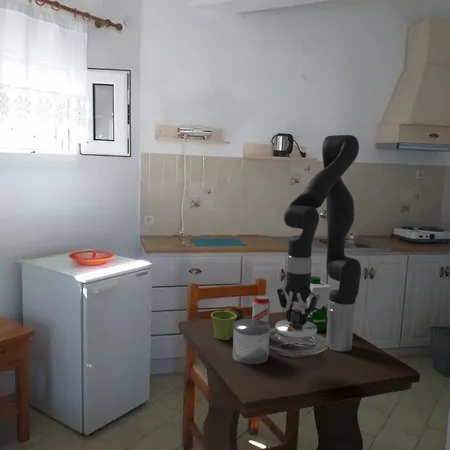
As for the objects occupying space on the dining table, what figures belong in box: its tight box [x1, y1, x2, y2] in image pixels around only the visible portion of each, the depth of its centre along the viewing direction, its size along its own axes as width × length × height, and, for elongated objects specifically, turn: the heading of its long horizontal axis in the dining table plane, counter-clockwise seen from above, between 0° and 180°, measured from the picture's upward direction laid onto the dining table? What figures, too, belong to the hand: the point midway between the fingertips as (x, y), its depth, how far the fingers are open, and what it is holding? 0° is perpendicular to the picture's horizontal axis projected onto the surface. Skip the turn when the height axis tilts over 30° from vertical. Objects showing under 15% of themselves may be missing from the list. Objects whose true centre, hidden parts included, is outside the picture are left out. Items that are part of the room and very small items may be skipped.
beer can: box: [251, 294, 271, 324], centre depth 180 cm, size 6×6×16 cm
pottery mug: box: [223, 305, 245, 322], centre depth 194 cm, size 12×10×8 cm
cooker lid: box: [274, 308, 318, 339], centre depth 153 cm, size 13×13×6 cm
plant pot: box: [210, 310, 237, 341], centre depth 180 cm, size 9×9×9 cm
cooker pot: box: [232, 318, 272, 365], centre depth 164 cm, size 13×13×11 cm
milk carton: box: [307, 276, 332, 332], centre depth 193 cm, size 9×9×20 cm
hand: (296, 322), depth 153 cm, fingers closed on cooker lid, 4 cm apart
